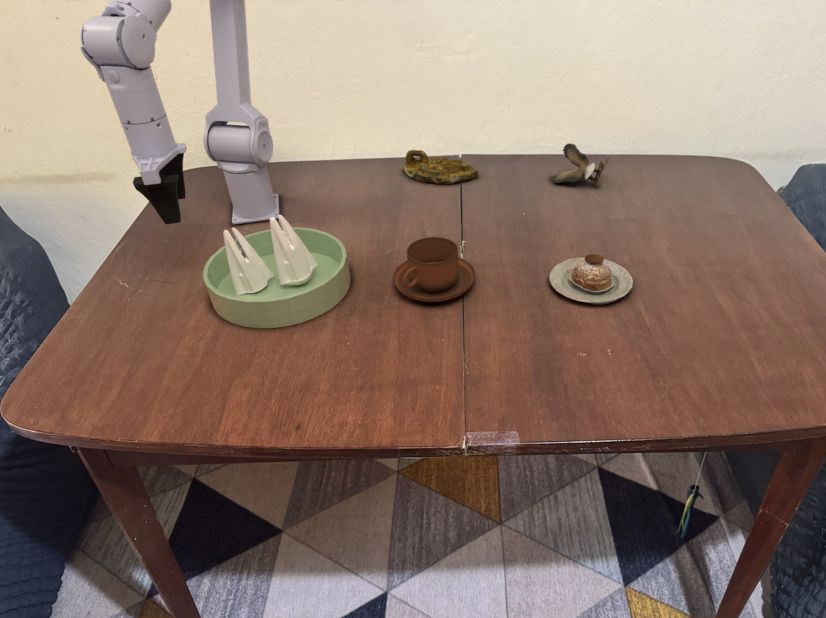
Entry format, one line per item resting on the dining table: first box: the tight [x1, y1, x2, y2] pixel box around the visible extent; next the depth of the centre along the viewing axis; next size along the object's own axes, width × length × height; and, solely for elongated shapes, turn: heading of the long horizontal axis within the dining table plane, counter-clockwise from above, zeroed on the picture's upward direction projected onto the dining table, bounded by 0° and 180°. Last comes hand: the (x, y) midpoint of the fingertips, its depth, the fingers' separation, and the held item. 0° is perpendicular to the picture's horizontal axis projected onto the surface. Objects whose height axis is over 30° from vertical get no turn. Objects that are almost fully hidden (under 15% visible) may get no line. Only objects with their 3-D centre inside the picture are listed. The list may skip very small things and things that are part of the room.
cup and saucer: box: [392, 236, 476, 303], centre depth 93 cm, size 12×12×6 cm
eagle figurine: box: [551, 143, 610, 188], centre depth 118 cm, size 8×7×9 cm
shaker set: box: [222, 214, 317, 296], centre depth 92 cm, size 12×4×11 cm, turn 99°
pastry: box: [548, 253, 634, 306], centre depth 92 cm, size 12×12×5 cm
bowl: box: [202, 226, 352, 329], centre depth 94 cm, size 20×20×4 cm
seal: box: [403, 149, 479, 185], centre depth 124 cm, size 9×5×15 cm
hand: (175, 210), depth 93 cm, fingers open, 7 cm apart
